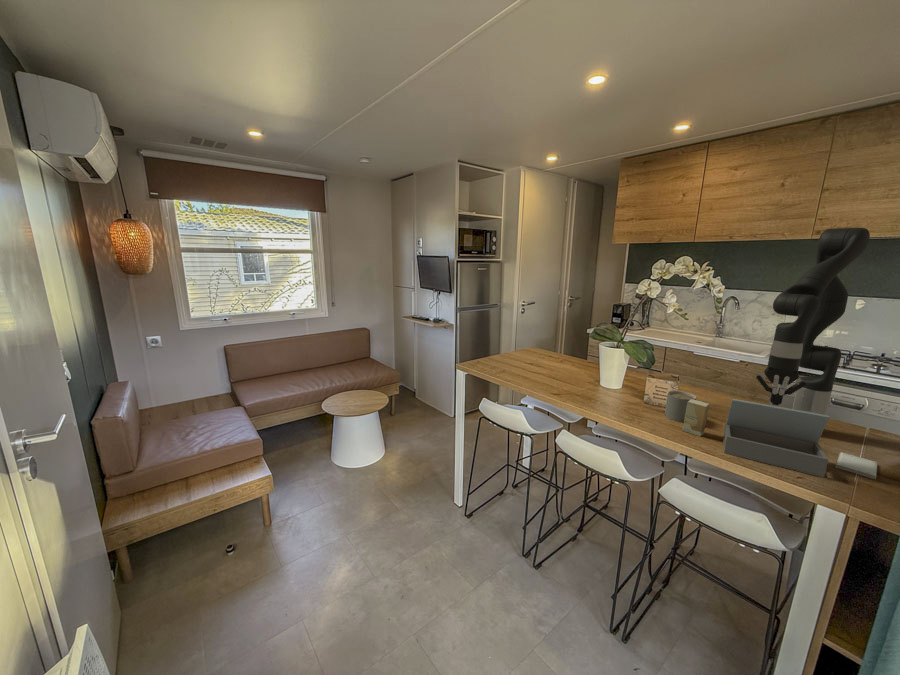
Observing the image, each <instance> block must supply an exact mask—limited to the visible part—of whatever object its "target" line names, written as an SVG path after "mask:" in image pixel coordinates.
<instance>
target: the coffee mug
mask: <svg viewBox="0 0 900 675" xmlns="http://www.w3.org/2000/svg"><path fill="white" fill-rule="evenodd" d="M690 399H693V400H697V396H696V395H694V394H692V393H690V392H687V391H681V390H669V391H668V392H667V396H666V404H665V409H664V417H665V418H667V419H669V420H672V421H673V420H674V422H677V421H678V422H677V423H683V422H684V419H685V413H686V408H687V403H688V401H689V400H690Z"/></svg>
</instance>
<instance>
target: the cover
mask: <svg viewBox="0 0 900 675" xmlns="http://www.w3.org/2000/svg"><path fill="white" fill-rule="evenodd" d="M727 414H728V415H727V419H726V423H725V425H726V424H729V425H733V426H738V427H743V428H748V429H753V430H757V431H762V432H767V433H772V434H777V435H781V436H786V437H791V438H796V439H800V440H805V441H810V442H815V443H819V442H820V439H821V437H822V435H823V432H824V431H825V429H826V427H827V426H826V425H827V423H828V421H829V420H830V415H828V414H826V415H823V414H817V413H812V412H806V411H800V410H795V409H792V408H788V407H784V406H783V407H782V406H778V405H773V404H772V405H770V404H764V403H759V402H753V401H747V400H742V399H736V398H731V402H730V407H729V411H728V413H727Z"/></svg>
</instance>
